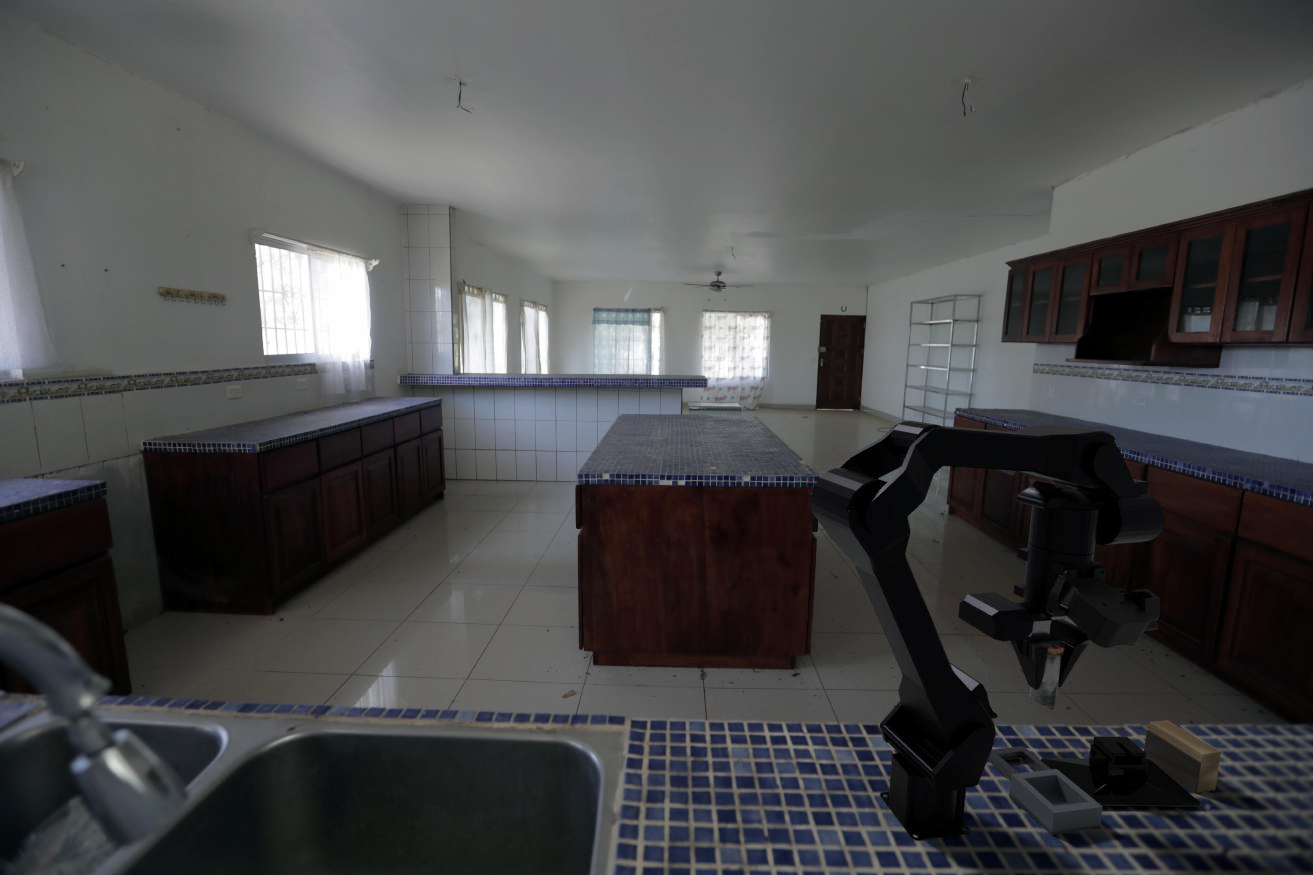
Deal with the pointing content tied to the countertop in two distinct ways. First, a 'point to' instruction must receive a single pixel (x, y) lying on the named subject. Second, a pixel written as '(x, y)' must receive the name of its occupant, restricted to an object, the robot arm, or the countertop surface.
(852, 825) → the countertop surface
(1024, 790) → the tray
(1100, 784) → the build plate
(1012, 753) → the pin socket
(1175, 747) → the rail
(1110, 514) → the robot arm
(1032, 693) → the pin
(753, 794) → the countertop surface
